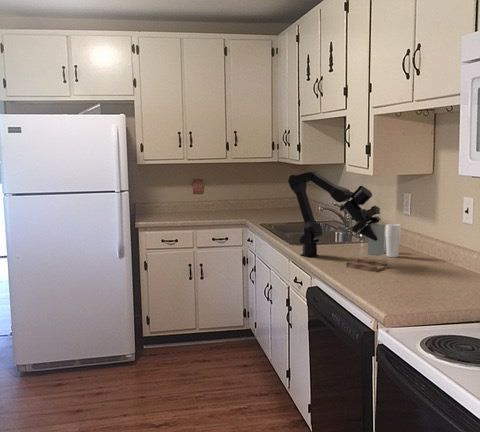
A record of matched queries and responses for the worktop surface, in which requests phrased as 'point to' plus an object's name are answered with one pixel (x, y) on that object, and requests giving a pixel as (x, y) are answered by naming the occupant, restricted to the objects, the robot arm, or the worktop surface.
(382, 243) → the block
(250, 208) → the worktop surface
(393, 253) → the white cylinder
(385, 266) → the walnut trough
